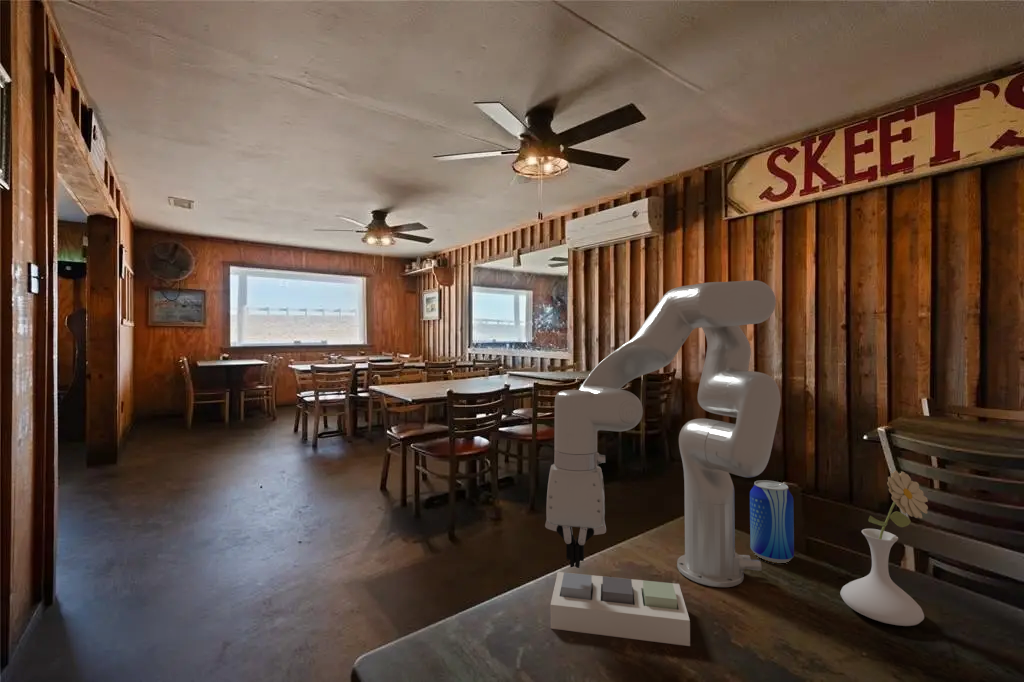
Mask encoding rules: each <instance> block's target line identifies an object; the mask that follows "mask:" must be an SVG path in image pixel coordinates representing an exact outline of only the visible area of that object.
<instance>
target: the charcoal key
mask: <svg viewBox="0 0 1024 682" xmlns="http://www.w3.org/2000/svg"><path fill="white" fill-rule="evenodd" d="M602 598H603V601H605V602H614V603H623V604H632V605H633V591H632V581H631V578H624V579H623V577H614V578H613V576H611V577H610V576H604V577H603V589H602Z"/></svg>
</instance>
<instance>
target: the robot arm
mask: <svg viewBox="0 0 1024 682" xmlns="http://www.w3.org/2000/svg"><path fill="white" fill-rule="evenodd" d="M776 301H777V300H776V295H775V293H774V290H773V288H771V286H770V285H768V284H767V283H766V282H763V281H761V280H756V279H755V280H738V281H713V282H712V281H711V282H709V281H708V282H704V283H703V282H702V283H697V284H696V283H695V284H688V285H682V286H678V287H675V288H671V289H670V290H668V291H666V293H664V295H663V296H662V297H661V298H660V299H659V301H658V302H657V304H656V305H655V307H654V308H653V309H652V311H651V312H650V313H649V315H648V316H647V318H646V319H645V321H644V322H643V323H642V325H640V327H639V328H638V330H637V332H635V334H634V335H633V336H632V338H631V339H630V340H628V341H627V342H625V343H623V345H621V346H620V347H618V348H617V349H615V350H614V351H613V352H612V353H610V354H609V355H607V356H606V357H605V358H604V359H603V360H601V361H600V362H599V363H598V364H597V365H596V366H595V367H594V368H593V369H592V370H591V371H590V373H589V374H588V375H587V377H586V378H585V380H583V383H582V384H581V386H579V389H567V390H565V389H564V390H561V391H559V392H557V393H556V395H555V398H554V449H553V450H554V452H553V453H554V456H553V457H554V459H553V461H554V462H553V464H551V465H550V469H549V475H548V483H547V492H546V509H545V510H546V511H545V512H546V515H545V516H546V520H545V524H544V527H545V528H546V529H547V530H550V531H553V532H557V533H558V535H559V536H560V537H561V538H562V539H563V540H564V542H565V544H566V548H565V549H566V560H569V568H576V569H579V568H580V565H581V562H584V561H585V544H586V542H587V541H588V540H590V539H591V538H592V537H593V536H597V535H604V534H605V533H607V527H606V521H605V515H606V502H605V500H606V499H605V484H604V475H603V472H602V468H601V466H599V464H602V463H603V464H604V463H606V455H605V454H601V453H599V452H598V432H599V431H610V432H625V431H630V430H632V429H633V428H635V427H636V426H638V424H639V423H640V422H641V421H642V418H643V414H644V410H643V404H642V402H641V400H640V399H639V397H637V396H636V395H635V394H634V393H632V392H631V391H628V390H626V389H621V388H623V387H624V386H625V385H626V384H628V383H629V382H631V381H633V380H634V379H637V378H638V377H641V376H644V375H648V374H650V373H652V372H656V371H658V370H660V369H663V368H665V367H666V366H668V365H670V363H671V362H672V361H673V360H674V358H675V357H676V356H677V354H678V352H679V351H680V349H681V348H682V346H683V345H684V344H685V342H686V341H687V339H688V337H689V336H690V335H691V333H692V332H693V330H695V329H699V328H700V329H702V330H703V333H704V335H705V338H706V345H707V347H706V353H705V359H704V362H703V363H704V364H703V368H702V372H701V376H700V380H699V384H698V391H697V403H698V405H699V407H701V408H702V409H703V410H704V411H706V412H709V413H711V414H715V415H719V416H724V417H730V418H736V420H735V423H731V422H727V421H721V420H715V419H709V418H695V419H691V420H688V421H687V422H685V424H684V425H683V426H682V427H681V430H680V431H679V435H678V447H679V453H680V457H681V461H682V468H683V480H684V484H683V485H684V490H683V491H684V496H683V497H684V554H683V555H681V556H679V557H678V558H677V560H676V561H677V562H676V563H677V564H676V566H677V570H678V571H679V573H681V575H682V576H684V577H686V578H687V579H688V580H690V581H692V582H695V583H698V584H700V585H703V586H708V587H713V588H714V587H715V588H730V587H735V586H738V585H739V584H741V583H742V582H743V581H744V578H745V577H744V571H745V570H752V571H758V572H759V571H762V569H763V568H762V563H761V559H751V556H750V555H749V554H738V553H737V552H736V547H735V546H736V545H735V544H736V543H735V542H736V541H735V538H736V537H735V536H736V532H735V531H736V529H735V525H736V524H735V521H736V519H735V486H734V483H733V480H732V477H731V475H730V474H732V475H735V476H739V477H743V478H755V477H757V476H759V475H760V474H762V473H763V472H764V470H765V469H766V468H767V465H768V463H769V460H770V457H771V454H772V453H771V452H772V449H773V444H774V439H775V434H776V430H777V425H778V421H779V415H780V410H781V404H782V403H781V402H782V401H781V399H782V397H781V392H780V388H779V385H778V383H777V382H776V381H775V379H774V378H773V377H771V376H770V375H768V374H767V373H764V372H760V371H750V370H749V366H750V361H751V354H752V350H751V349H752V348H751V344H750V342H749V339H748V338H747V336H746V335H745V333H744V331H743V329H742V328H741V327H740V326H744V325H745V326H746V325H756V324H762V323H763V322H766V321H767V320H768V319H769V318H770V317H771V316H772V314H773V313H774V311H775V310H776V309H775V308H776ZM573 528H580V529H579V533H578V535H577V536H576V539H575V536H574V535H573Z"/></svg>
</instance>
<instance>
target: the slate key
mask: <svg viewBox="0 0 1024 682" xmlns="http://www.w3.org/2000/svg"><path fill="white" fill-rule="evenodd" d="M592 575H593V574H592ZM592 575H591V574H584V575H583V573H574V574H573V573H572V572H564V575H563V581H562V586H561V597H569V598H578V599H587V600H591V595H592Z"/></svg>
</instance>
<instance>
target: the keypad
mask: <svg viewBox="0 0 1024 682" xmlns="http://www.w3.org/2000/svg"><path fill="white" fill-rule="evenodd" d="M564 573H565V572H563V571H557V574H556V577H555V578H556V579H555V584H554V588H553V592H552V595H551V601H550V629H553V630H558V631H559V630H561V631H568V632H576V633H583V634H591V635H600V636H607V637H615V638H623V639H631V640H639V641H646V642H655V643H661V644H669V645H670V644H671V645H677V646H686V647H691V622H690V621H691V620H690V617H689V613H688V610H687V606H686V602H685V600H684V596H683V593H682V590H681V586H680V583H673V582H672V583H673V587H674V590H675V594H676V598H677V609H668V608H659V607H650V606H644V600H643V581H645V580H643V579H635V578H634V579H631V578H630V579H631V581H632V591H633V605H632V604H623V603H614V602H605V601H603V598H602V589H603V577H605V576H602V575H593V574H592V595H591V600H587V599H578V598H569V597H561V586H562V581H563V575H564ZM573 574H575V573H573ZM582 574H583V573H582ZM583 575H585V574H583ZM612 577H613V576H612ZM613 578H615V577H613ZM622 578H623V577H622ZM623 579H625V578H623ZM652 581H653V580H652ZM653 582H655V581H653ZM662 582H663V581H662ZM663 583H665V582H663Z"/></svg>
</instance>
